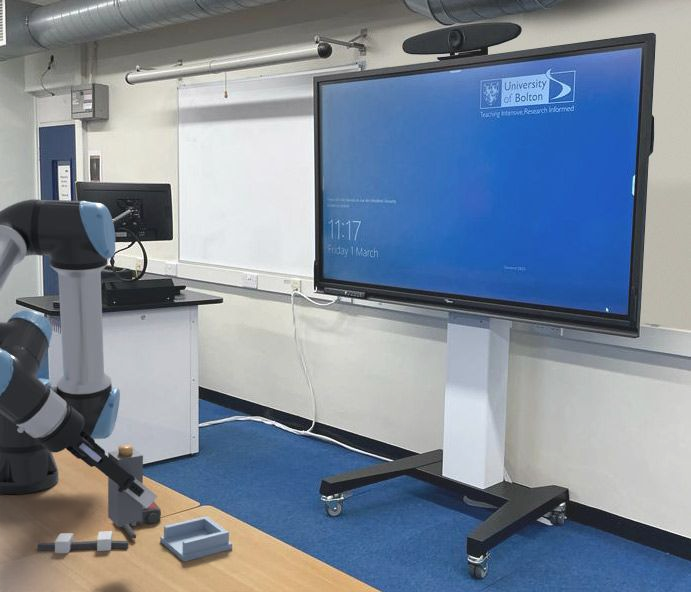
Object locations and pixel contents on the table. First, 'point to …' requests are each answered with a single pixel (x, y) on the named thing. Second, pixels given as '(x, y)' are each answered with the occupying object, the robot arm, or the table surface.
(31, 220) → the robot arm
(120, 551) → the table surface
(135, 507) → the grey post with ball
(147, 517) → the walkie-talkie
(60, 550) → the cable run
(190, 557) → the tray
